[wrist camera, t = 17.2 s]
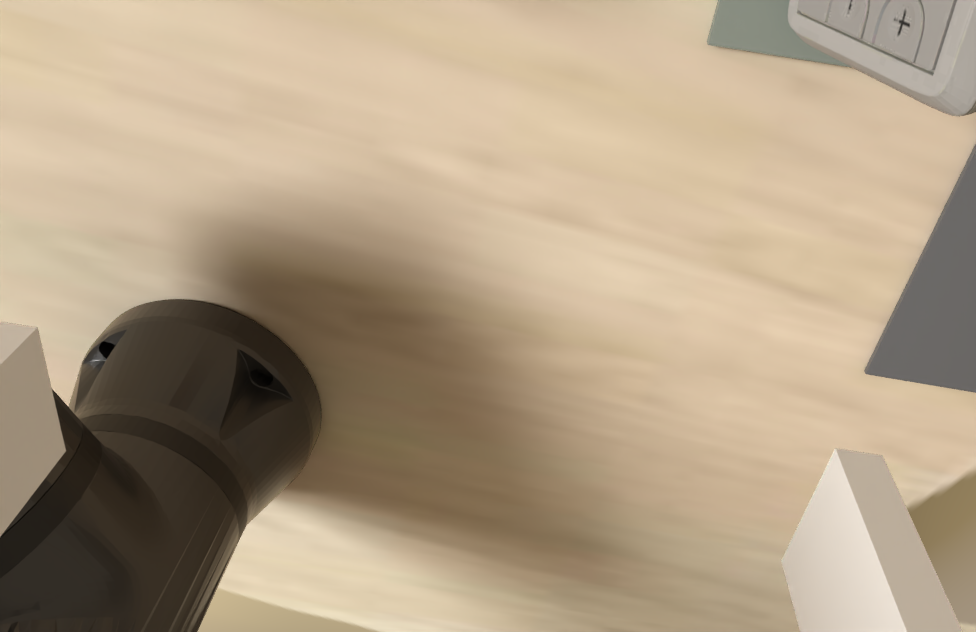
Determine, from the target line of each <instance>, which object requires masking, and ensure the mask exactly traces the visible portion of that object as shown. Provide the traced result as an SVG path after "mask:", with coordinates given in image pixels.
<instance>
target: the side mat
mask: <svg viewBox="0 0 976 632" xmlns="http://www.w3.org/2000/svg"><path fill="white" fill-rule="evenodd" d="M789 1H790V0H718V3H717V7H716V11H715V14H714V18H713V22H712V25H711V29H710V33H709V37H708V40H707V43H708V45H712V46H719V47H725V48H731V49H738V50H744V51H751V52H757V53H763V54H770V55H776V56H783V57H789V58H795V59H802V60H808V61H814V62H821V63H827V64H834V65H840V66H846V67H851V66H849V65H847V64H845V63H843V62H841V61H839V60H837V59H835V58H833V57H831V56H829V55H827V54H825V53H823V52H821V51H819V50H817V49H815V48H813V47H811V46H810V45H808V44H807V43H805V42H804V41H803V40H802V39H801V38H800V37H799V36H798V35H797V34H796V33H795V31H794V30H793V29H792V28H791V27H790V24H789V22H788V8H789Z"/></svg>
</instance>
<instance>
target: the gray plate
mask: <svg viewBox="0 0 976 632" xmlns="http://www.w3.org/2000/svg"><path fill="white" fill-rule="evenodd" d="M864 371H865V373H866V374H869V375H875V376H881V377H886V378H892V379H898V380H904V381H910V382H916V383H922V384H928V385H934V386H940V387H946V388H952V389H958V390H964V391H970V392H975V393H976V144H975V146H974V148H973V151H972V153H971V155H970V157H969V159H968V161H967V163H966V165H965V167H964V169H963V171H962V173H961V175H960V177H959V179H958V181H957V183H956V185H955V187H954V189H953V191H952V193H951V195H950V197H949V199H948V201H947V203H946V205H945V208H944V210H943V212H942V214H941V216H940V218H939V220H938V222H937V224H936V226H935V228H934V230H933V232H932V234H931V236H930V238H929V240H928V242H927V244H926V246H925V248H924V250H923V252H922V254H921V256H920V258H919V260H918V263H917V265H916V267H915V269H914V271H913V273H912V275H911V277H910V279H909V281H908V283H907V285H906V287H905V289H904V291H903V293H902V295H901V297H900V299H899V301H898V303H897V305H896V307H895V309H894V311H893V313H892V315H891V317H890V320H889V322H888V324H887V326H886V328H885V330H884V332H883V334H882V336H881V338H880V340H879V342H878V344H877V346H876V348H875V350H874V352H873V354H872V356H871V358H870V360H869V362H868V364H867V366H866V368H865V370H864Z"/></svg>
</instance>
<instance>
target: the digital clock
mask: <svg viewBox="0 0 976 632" xmlns="http://www.w3.org/2000/svg"><path fill="white" fill-rule="evenodd" d="M788 22H789V24H790V27H791V28H792V29H793V30H794V31H795V33H796V34H797V35H798V36H799V37H800V38H801V39H802V40H803V41H804V42H805V43H807V44H808V45H810V46H811V47H813V48H815V49H817V50H819V51H821V52H823V53H825V54H827V55H829V56H831V57H833V58H835V59H837V60H839V61H841V62H843V63H845V64H847V65H849V66H851V67H853V68H855V69H857V70H859V71H861V72H862V73H864V74H866V75H868V76H870V77H872V78H874V79H876V80H878V81H880V82H882V83H884V84H886V85H888V86H890V87H892V88H894V89H896V90H898V91H900V92H902V93H904V94H906V95H908V96H910V97H912V98H914V99H916V100H918V101H920V102H922V103H924V104H926V105H928V106H930V107H932V108H934V109H937V110H939V111H941V112H943V113H946V114H949V115H952V116H964V115H968V114H971V113H974V112H976V0H790V1H789V8H788Z"/></svg>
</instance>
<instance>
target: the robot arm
mask: <svg viewBox="0 0 976 632" xmlns="http://www.w3.org/2000/svg"><path fill="white" fill-rule="evenodd" d="M320 426H321V406H320V401H319V396H318V393H317V390H316V388H315V385H314V383H313V381H312V379H311V377H310V375H309V373H308V372H307V370H306V368H305V367H304V366H303V364H302V363H301V361H300V360H299V359H298V358H297V357H296V355H295V354H294V353H293V352H292V351H291V350H290V349H289V348H288V347H287V346H286V345H285V344H284V343H283V342H282V341H281V340H279V339H278V338H277V337H276V336H275V335H273V334H272V333H271V332H269V331H268V330H266V329H265V328H263V327H262V326H260V325H259V324H257V323H255V322H254V321H252V320H250V319H248V318H246V317H244V316H242V315H240V314H238V313H236V312H233V311H230V310H228V309H225V308H222V307H219V306H216V305H212V304H208V303H203V302H197V301H190V300H161V301H154V302H150V303H146V304H142V305H139V306H137V307H134V308H132V309H130V310H128V311H126V312H125V313H123V314H121V315H120V316H119V317H117V318H116V319H115V320H114V321H113V322H112V323H111V324H110V325H109V326H108V327H107V328H106V330H105V331H104V332H103V333H102V334H101V335H100V336H99V337H98V339H97V340H96V341H95V342H94V343H93V344H92V346H91V347H90V349H89V350H88V352H87V354H86V356H85V358H84V360H83V362H82V365H81V368H80V371H79V374H78V377H77V381H76V384H75V387H74V391H73V394H72V397H71V400H70V404H69V407H68V406H67V405H66V404H65V403H64V402H63V400H62V399H61V398H60V397H59V396H58V395H57V394H56V393H55V392H54V391H53V389H52V388H51V384H50V379H49V375H48V370H47V366H46V362H45V357H44V353H43V349H42V344H41V340H40V336H39V331H38V327H32V326H26V325H19V324H13V323H6V322H0V632H197V631H198V629H199V627H200V625H201V622H202V620H203V618H204V616H205V614H206V612H207V609H208V607H209V605H210V603H211V601H212V599H213V596H214V594H215V592H216V590H217V588H218V585H219V583H220V581H221V579H222V577H223V575H224V572H225V570H226V568H227V566H228V564H229V561H230V559H231V557H232V555H233V553H234V551H235V548H236V546H237V544H238V542H239V539H240V537H241V535H242V533H243V531H244V529H245V527H246V525H247V524H248V523H249V522H250V521H251V520H252V519H253V518H254V517H256V516H257V515H258V514H259V513H260V512H261V511H262V510H263V509H264V508H265V507H266V506H267V505H268V504H269V503H270V502H271V501H272V500H273V499H274V498H275V497H276V496H277V495H278V494H279V493H280V492H281V491H283V490H284V489H285V488H286V487H287V486H288V485H289V484H290V483H291V482H292V481H293V480H294V479H295V478H296V477H297V476H298V474H299V473H300V472H301V470H302V469H303V467H304V466H305V464H306V462H307V460H308V458H309V456H310V454H311V451H312V449H313V447H314V445H315V442H316V440H317V437H318V435H319V431H320ZM781 562H782V566H783V569H784V573H785V577H786V581H787V584H788V588H789V592H790V596H791V600H792V603H793V607H794V611H795V615H796V619H797V622H798V626H799V630H800V632H963V631H962V629H961V626H960V624H959V622H958V620H957V618H956V616H955V613H954V611H953V609H952V607H951V605H950V602H949V600H948V598H947V596H946V594H945V592H944V590H943V587H942V585H941V583H940V581H939V578H938V576H937V574H936V572H935V570H934V568H933V565H932V563H931V561H930V559H929V556H928V554H927V552H926V550H925V548H924V545H923V543H922V541H921V539H920V537H919V534H918V533H917V530H916V528H915V526H914V524H913V521H912V519H911V517H910V515H909V513H908V510H907V508H906V506H905V504H904V502H903V499H902V497H901V495H900V493H899V491H898V488H897V486H896V484H895V482H894V480H893V478H892V475H891V473H890V471H889V469H888V467H887V464H886V462H885V460H884V458H883V456H882V455H877V454H870V453H864V452H857V451H851V450H844V449H837V448H835V450H834V452H833V454H832V456H831V458H830V460H829V462H828V464H827V466H826V469H825V471H824V473H823V475H822V477H821V479H820V481H819V483H818V485H817V487H816V489H815V491H814V493H813V496H812V498H811V500H810V502H809V504H808V506H807V508H806V510H805V512H804V514H803V516H802V518H801V520H800V522H799V525H798V527H797V529H796V531H795V533H794V535H793V537H792V539H791V541H790V543H789V545H788V547H787V549H786V551H785V554H784V556H783V558H782V560H781Z"/></svg>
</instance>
